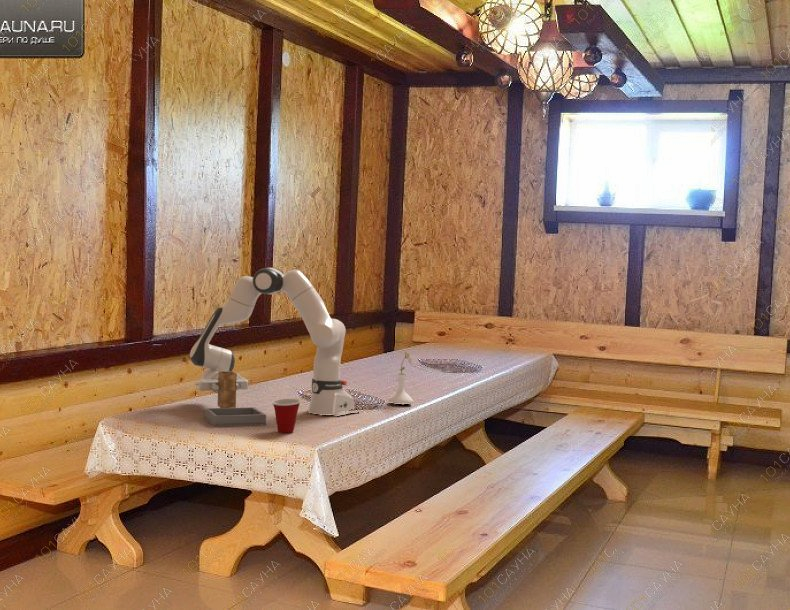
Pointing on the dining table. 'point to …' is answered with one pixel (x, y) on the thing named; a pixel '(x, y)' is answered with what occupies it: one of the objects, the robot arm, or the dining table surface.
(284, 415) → the plastic cup
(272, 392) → the dining table surface
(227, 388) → the wooden pencil holder
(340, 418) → the dining table surface
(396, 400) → the flower in vase
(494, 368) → the dining table surface
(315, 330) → the robot arm
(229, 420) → the gray tray
